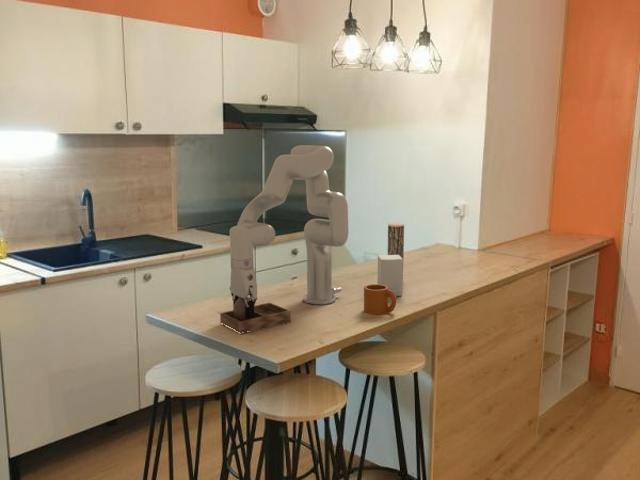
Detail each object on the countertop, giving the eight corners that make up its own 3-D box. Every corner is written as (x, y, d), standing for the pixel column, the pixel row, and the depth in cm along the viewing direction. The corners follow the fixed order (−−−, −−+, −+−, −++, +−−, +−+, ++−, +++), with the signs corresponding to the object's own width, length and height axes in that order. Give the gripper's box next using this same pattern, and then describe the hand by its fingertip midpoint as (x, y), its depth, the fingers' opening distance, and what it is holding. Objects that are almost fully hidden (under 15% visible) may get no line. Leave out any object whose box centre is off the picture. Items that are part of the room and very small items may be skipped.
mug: (386, 318, 214) (386, 293, 212) (359, 311, 222) (358, 287, 220) (400, 311, 221) (400, 287, 219) (373, 305, 228) (373, 282, 227)
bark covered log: (385, 282, 261) (386, 225, 257) (388, 278, 268) (389, 222, 263) (401, 283, 259) (402, 225, 254) (404, 280, 265) (405, 223, 261)
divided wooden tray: (269, 313, 220) (269, 302, 219) (290, 322, 210) (290, 310, 209) (220, 324, 208) (220, 313, 207) (240, 334, 198) (240, 322, 197)
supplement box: (402, 296, 241) (403, 259, 238) (380, 296, 240) (380, 259, 237) (398, 290, 250) (399, 254, 247) (377, 290, 249) (377, 254, 246)
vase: (230, 318, 207) (229, 293, 205) (249, 315, 210) (249, 291, 209) (237, 324, 201) (236, 298, 199) (257, 321, 204) (256, 296, 203)
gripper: (266, 266, 197) (267, 319, 201) (238, 257, 211) (240, 306, 214) (246, 269, 193) (247, 323, 196) (219, 260, 206) (221, 311, 210)
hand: (243, 314), depth 205 cm, fingers closed on vase, 6 cm apart
